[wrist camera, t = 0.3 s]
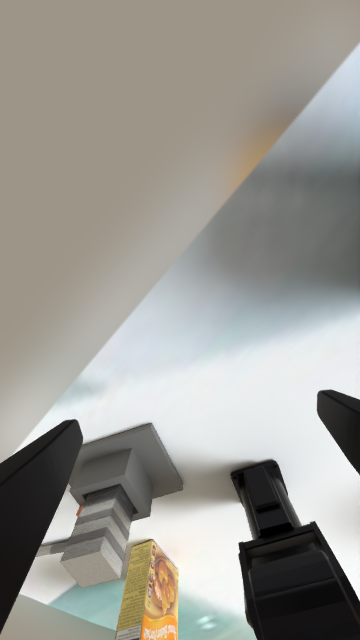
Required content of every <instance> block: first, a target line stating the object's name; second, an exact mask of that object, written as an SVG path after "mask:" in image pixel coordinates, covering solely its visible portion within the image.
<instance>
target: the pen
mask: <svg viewBox="0 0 360 640" xmlns="http://www.w3.org/2000/svg"><path fill="white" fill-rule="evenodd" d="M67 542H68V541H66V542H61V543H56V544H52V545H48V546H43V545H41V546H40V548H39V550H38V552H37V554H36V557H38V556H43V555H48V554H55V553H60V552H64V551H65V549H66V545H67Z"/></svg>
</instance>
